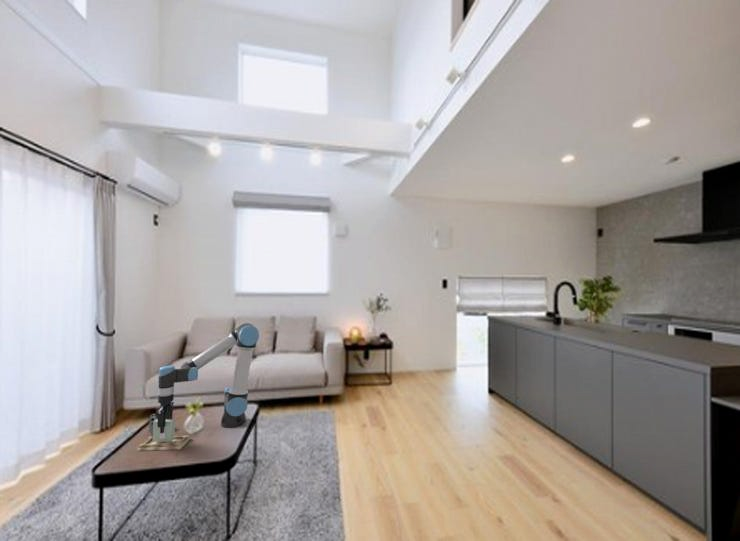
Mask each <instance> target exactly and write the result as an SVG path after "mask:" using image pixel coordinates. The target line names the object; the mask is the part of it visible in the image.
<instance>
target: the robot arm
mask: <svg viewBox="0 0 740 541" xmlns="http://www.w3.org/2000/svg"><path fill="white" fill-rule="evenodd" d="M259 339H260V331H259V330H258V328H257V327H256V326H254V325H253V324H251V323H242V324H241V325H239V326H238V327H237V328H235V329H233V330H232V331H230V333H229V335H227V336H226V337H224V338H223V339H221V340H219V341H218V342H216V343H215V344H214V345H213V344H212V346H210V347H209V348H207V349H206V350H204V351H203V352H201V353H199V354H198V355H196V356H195V357H194V358H191V359H190V360H189V361H185V362H184V363H183V364H182V365H181V366H180V368H175V366H174V365H165V366H162V367H161V366H160V368H159V369H158V370H159V372H158V388H157V391H158V396H157V402H158V404H160V405H159V409H157V410H156V414H157V415H158V427H160V439H165V438H166V426H165V422H166V419H173V414H174V412H173V411H174V403H175V402H174V398H175V397H174V396H175V394H174V393H175V383H185V382H187V383H188V382H193V381H194V382H195V381H197V380H198V377H199V370H200V369H202V368H203V367H204V366H206V365H208V364H209V363H210V362H213V361H214V360H215V359H217V358H218V357H220V356H221V355H222V354H225V353H226V352H227V351H228V350H230V349H232V348H233V347H236V348H237V355H236V361H235V365H234V372H233V379H232V382H231V383H232V384H231V385H230V386H227V387H226V388H224V392H223V393H224V400H223V404H224V407H223V414H222V416H221V419H220V426H221V427H223V428H237V427H240V426H242V425H244V424H245V423H246V421H247V416H246V413H245V412H246V411H247V409H248V396H249V390H248V389H247V387H248V381H249V376H250V375H249V374H250V369H251V363H252V357H253V353H254V352H253V351H254V350H255V349H256V347H257V345H258V344H257V343H258V341H259Z"/></svg>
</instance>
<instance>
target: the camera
mask: <svg viewBox="0 0 740 541" xmlns="http://www.w3.org/2000/svg"><path fill="white" fill-rule="evenodd" d="M156 414H157V413H156ZM156 414H155V413H152V414H150V415H149V422H148V423H149V426H148V431H149V433H150V435H151V437H153V422H154V421H155V420H156V419H158V414H157V415H156Z"/></svg>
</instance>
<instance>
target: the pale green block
mask: <svg viewBox="0 0 740 541" xmlns="http://www.w3.org/2000/svg"><path fill="white" fill-rule="evenodd" d="M165 426H166V438H165V439H160V427H158V419H156V420H155V421H154V422H153V440H152V442H172V441H173V440H174V438H175V436H176V418H172V419H166V422H165Z"/></svg>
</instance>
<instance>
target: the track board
mask: <svg viewBox="0 0 740 541" xmlns="http://www.w3.org/2000/svg"><path fill="white" fill-rule="evenodd" d="M190 439H191V436H190V435H175V438H174V440H173V441H172V442H152V440H153V437H152V436H148V437H147V439H146V440H145V441H143V442H142V443H140V444H138V446H137V449H136V451H137V452H143V451H144V452H145V451H147V452H148V451H171V450H181V449H182V448H183V447H184V446H185V445H186V444H187V443H188V442H189V441H190Z"/></svg>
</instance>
